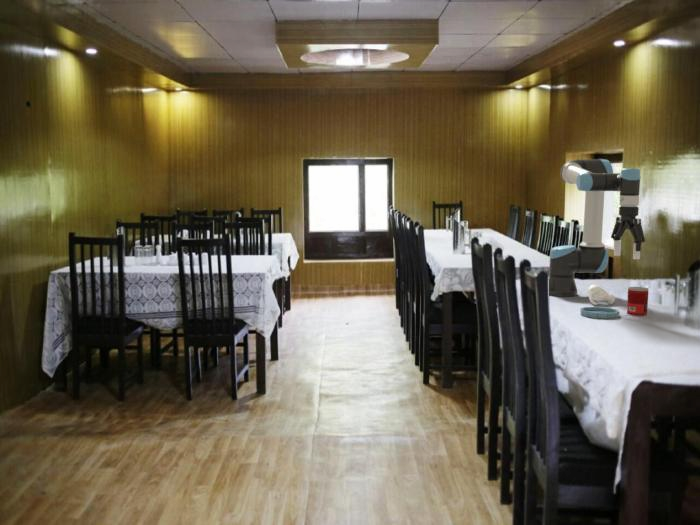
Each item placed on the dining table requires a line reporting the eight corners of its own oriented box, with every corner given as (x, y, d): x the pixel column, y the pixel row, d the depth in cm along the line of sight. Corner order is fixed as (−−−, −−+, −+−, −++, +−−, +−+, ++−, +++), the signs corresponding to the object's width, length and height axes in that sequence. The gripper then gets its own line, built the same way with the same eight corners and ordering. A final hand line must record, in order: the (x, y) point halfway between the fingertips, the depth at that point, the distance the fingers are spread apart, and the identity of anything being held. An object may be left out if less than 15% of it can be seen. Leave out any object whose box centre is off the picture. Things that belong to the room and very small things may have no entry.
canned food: (648, 316, 318) (650, 289, 317) (628, 315, 320) (629, 289, 318) (645, 312, 326) (646, 287, 324) (625, 312, 327) (626, 286, 326)
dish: (578, 311, 328) (578, 306, 328) (615, 312, 325) (615, 307, 325) (583, 318, 313) (583, 312, 313) (621, 319, 311) (621, 314, 310)
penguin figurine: (588, 283, 349) (615, 286, 347) (585, 301, 350) (612, 305, 348) (590, 285, 342) (618, 288, 341) (587, 304, 344) (615, 307, 342)
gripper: (603, 205, 328) (601, 254, 330) (639, 207, 304) (636, 260, 306) (619, 205, 330) (617, 254, 332) (655, 207, 306) (653, 260, 308)
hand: (626, 257), depth 319 cm, fingers open, 13 cm apart
